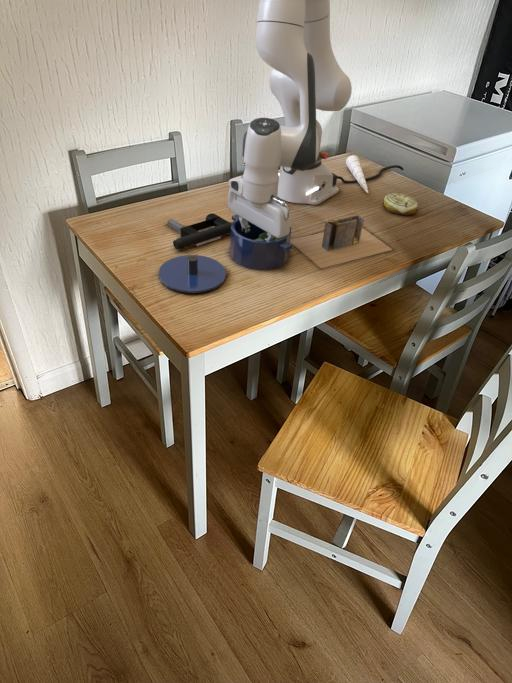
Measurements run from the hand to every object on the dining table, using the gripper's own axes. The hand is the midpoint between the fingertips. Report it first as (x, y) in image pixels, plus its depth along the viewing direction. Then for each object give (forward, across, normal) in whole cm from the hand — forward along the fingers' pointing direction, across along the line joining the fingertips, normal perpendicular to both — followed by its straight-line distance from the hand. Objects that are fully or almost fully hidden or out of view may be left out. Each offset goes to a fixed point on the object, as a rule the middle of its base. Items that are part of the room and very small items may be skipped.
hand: (256, 238), depth 142 cm
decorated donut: (+6, -6, -57) cm, 58 cm away
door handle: (+6, +20, +6) cm, 21 cm away
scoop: (+5, 0, -1) cm, 5 cm away
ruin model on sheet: (+6, -10, -24) cm, 26 cm away
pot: (+5, 0, -1) cm, 5 cm away
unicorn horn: (+6, +17, -65) cm, 68 cm away
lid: (+5, +2, +20) cm, 20 cm away
